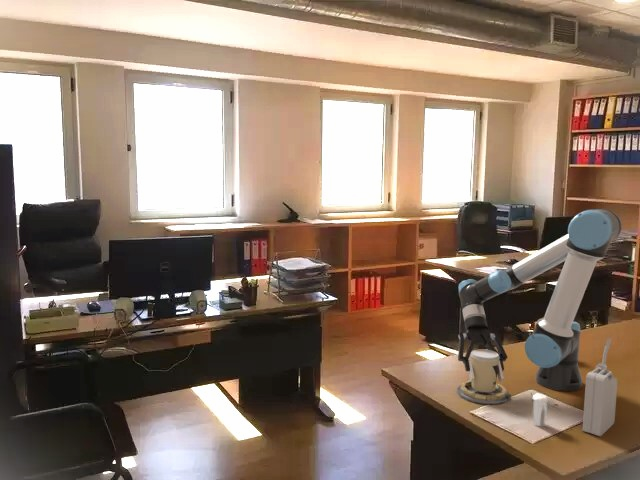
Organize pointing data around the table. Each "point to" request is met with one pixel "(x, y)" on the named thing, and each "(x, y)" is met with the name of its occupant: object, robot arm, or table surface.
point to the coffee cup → (484, 369)
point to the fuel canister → (600, 398)
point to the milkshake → (539, 409)
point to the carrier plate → (483, 394)
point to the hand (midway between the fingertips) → (486, 380)
